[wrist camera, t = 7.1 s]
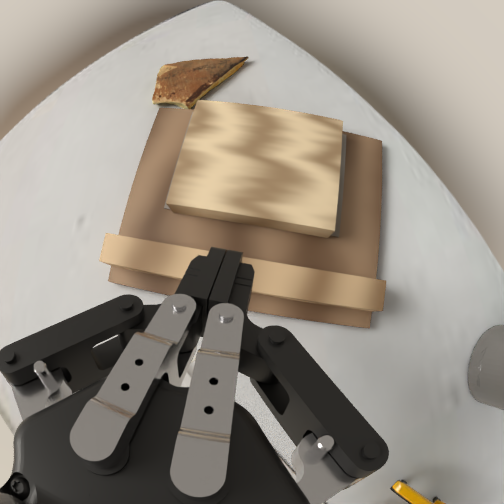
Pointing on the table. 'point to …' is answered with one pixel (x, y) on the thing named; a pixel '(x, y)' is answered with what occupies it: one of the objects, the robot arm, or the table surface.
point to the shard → (192, 79)
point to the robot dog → (412, 494)
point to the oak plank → (259, 168)
